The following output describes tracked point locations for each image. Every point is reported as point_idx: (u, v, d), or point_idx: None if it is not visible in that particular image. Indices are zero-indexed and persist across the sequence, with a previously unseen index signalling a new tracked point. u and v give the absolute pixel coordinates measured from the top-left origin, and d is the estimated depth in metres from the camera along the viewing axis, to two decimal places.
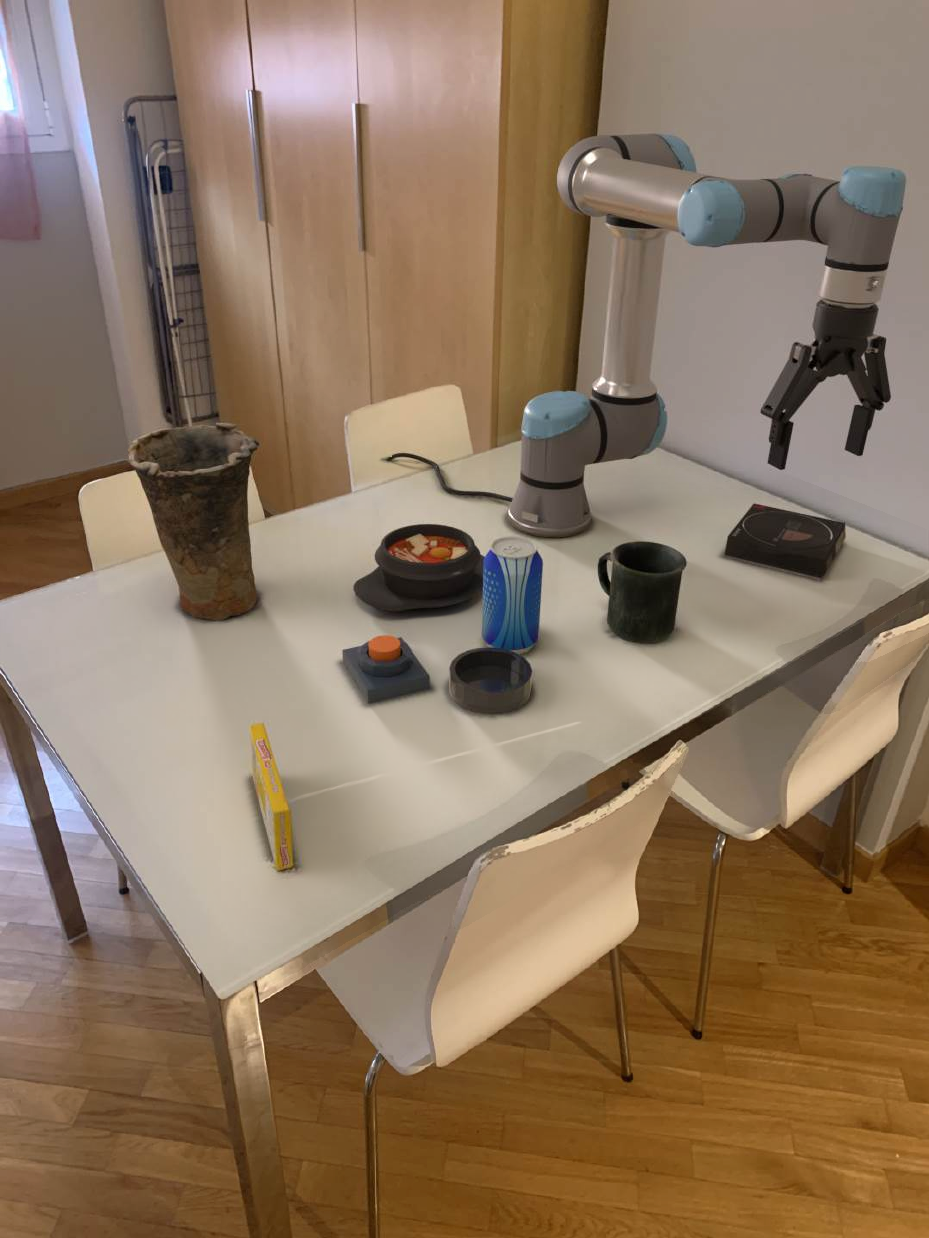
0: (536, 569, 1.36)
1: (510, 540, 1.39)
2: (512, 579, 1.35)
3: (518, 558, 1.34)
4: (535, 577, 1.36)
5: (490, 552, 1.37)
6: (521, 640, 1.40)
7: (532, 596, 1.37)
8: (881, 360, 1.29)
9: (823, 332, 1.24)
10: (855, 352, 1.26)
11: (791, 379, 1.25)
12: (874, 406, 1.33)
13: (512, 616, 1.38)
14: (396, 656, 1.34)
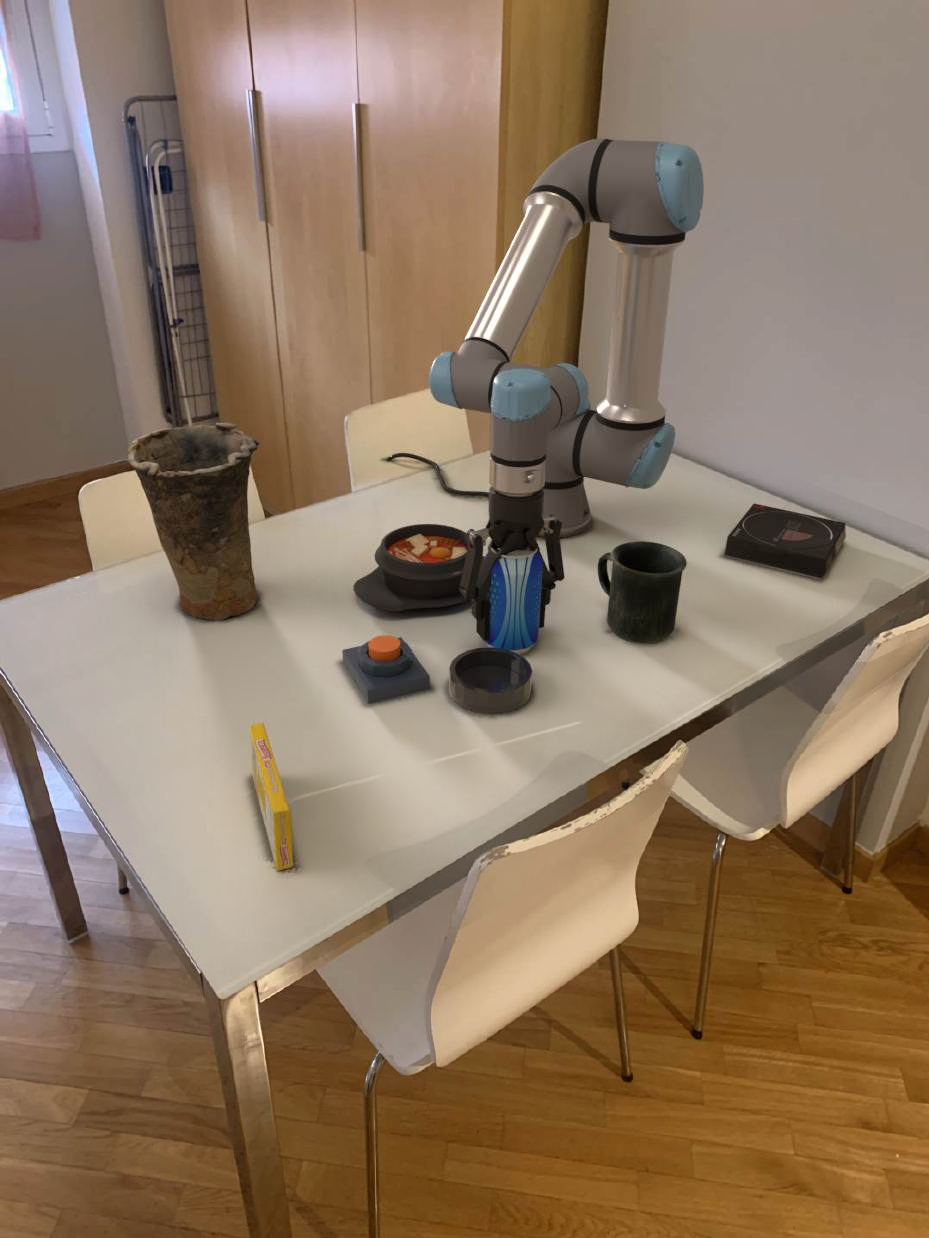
0: (536, 570, 1.36)
1: None
2: (512, 579, 1.35)
3: (518, 558, 1.34)
4: (535, 577, 1.36)
5: None
6: (521, 640, 1.40)
7: (532, 596, 1.37)
8: (556, 541, 1.38)
9: (493, 516, 1.32)
10: (528, 532, 1.34)
11: (472, 565, 1.34)
12: (547, 584, 1.41)
13: (512, 616, 1.38)
14: (396, 656, 1.34)
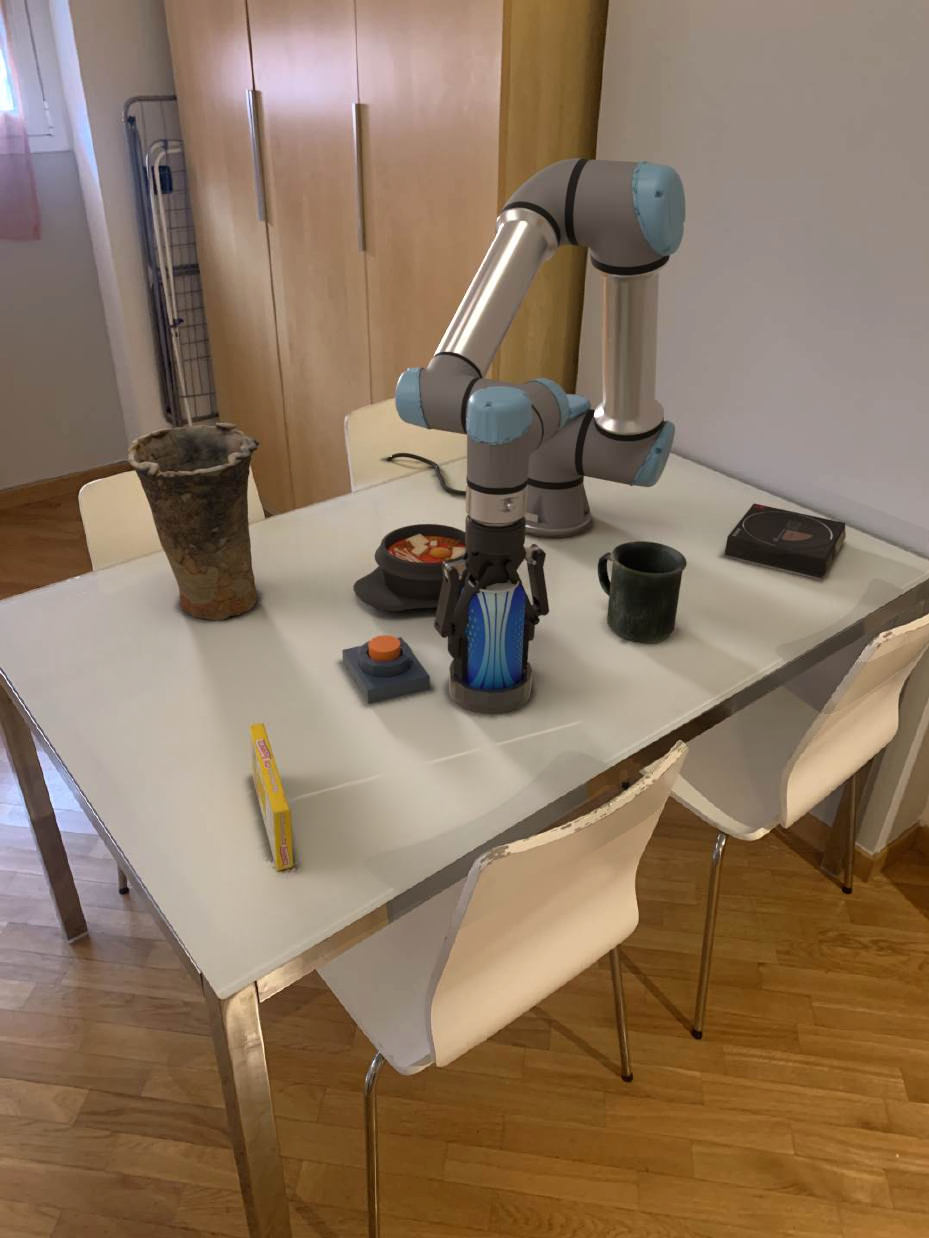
0: (518, 605, 1.24)
1: None
2: (491, 615, 1.23)
3: (498, 592, 1.23)
4: (516, 613, 1.25)
5: None
6: (502, 680, 1.29)
7: (513, 633, 1.26)
8: (539, 573, 1.27)
9: (470, 546, 1.21)
10: (509, 563, 1.23)
11: (447, 600, 1.23)
12: (530, 619, 1.30)
13: (492, 655, 1.26)
14: (396, 656, 1.34)
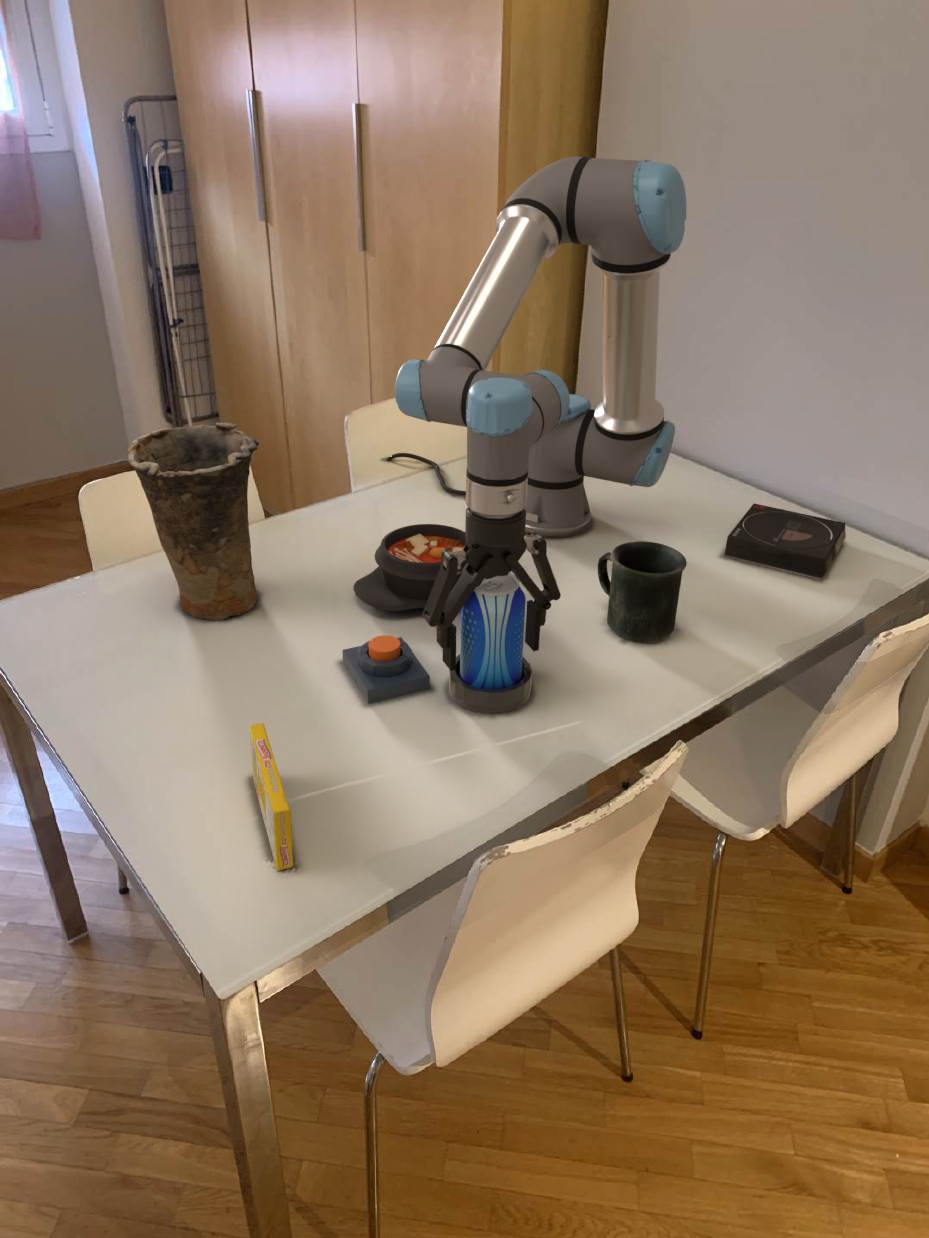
0: (518, 607, 1.25)
1: None
2: (491, 618, 1.24)
3: (498, 595, 1.23)
4: (516, 616, 1.25)
5: None
6: (502, 683, 1.29)
7: (513, 636, 1.26)
8: (544, 561, 1.26)
9: (470, 539, 1.20)
10: (509, 556, 1.22)
11: (442, 588, 1.22)
12: (542, 604, 1.29)
13: (492, 657, 1.27)
14: (396, 656, 1.34)
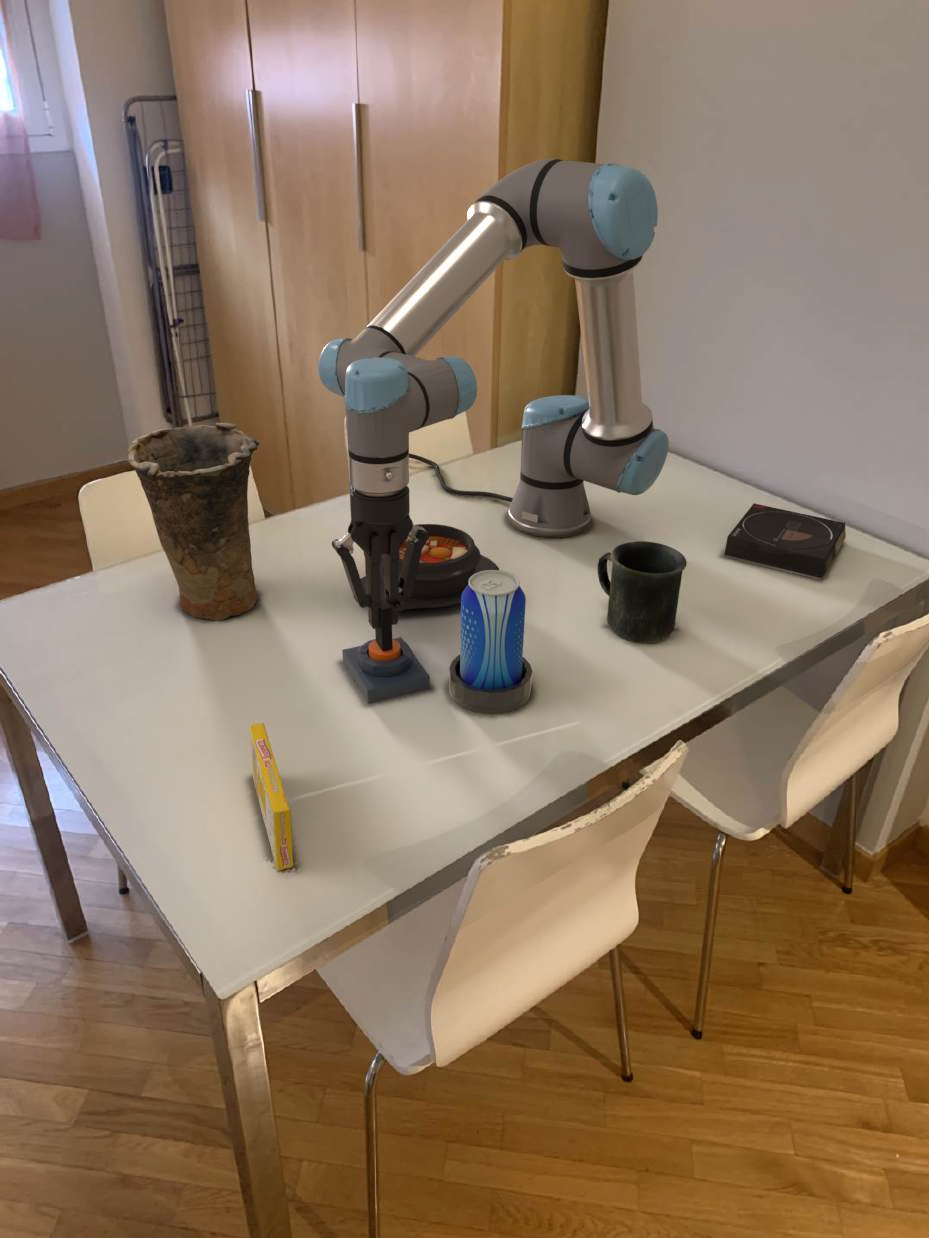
0: (518, 607, 1.25)
1: (490, 574, 1.28)
2: (491, 618, 1.24)
3: (498, 595, 1.23)
4: (516, 616, 1.25)
5: (468, 588, 1.26)
6: (502, 682, 1.29)
7: (513, 636, 1.26)
8: (417, 553, 1.28)
9: (354, 517, 1.22)
10: (395, 534, 1.25)
11: (349, 575, 1.26)
12: (392, 602, 1.30)
13: (492, 657, 1.27)
14: None
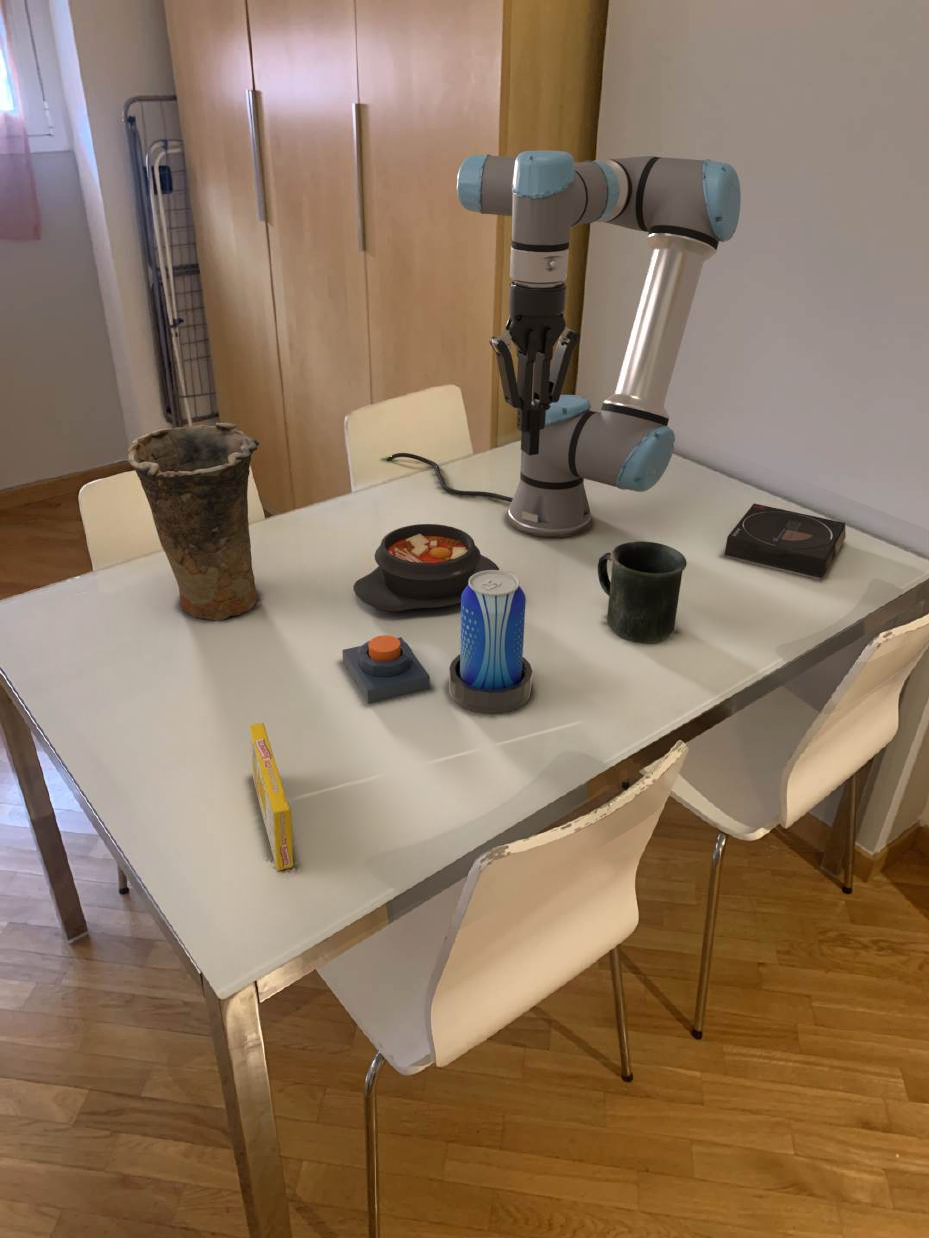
0: (518, 607, 1.25)
1: (490, 574, 1.28)
2: (491, 618, 1.24)
3: (498, 595, 1.23)
4: (516, 616, 1.25)
5: (468, 588, 1.26)
6: (502, 682, 1.29)
7: (513, 636, 1.26)
8: (567, 354, 1.34)
9: (514, 311, 1.28)
10: (551, 330, 1.30)
11: (505, 372, 1.31)
12: (542, 404, 1.36)
13: (492, 657, 1.27)
14: (396, 656, 1.34)
